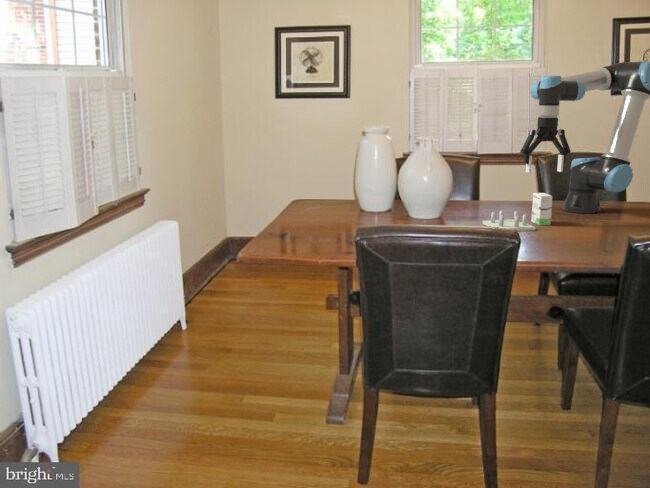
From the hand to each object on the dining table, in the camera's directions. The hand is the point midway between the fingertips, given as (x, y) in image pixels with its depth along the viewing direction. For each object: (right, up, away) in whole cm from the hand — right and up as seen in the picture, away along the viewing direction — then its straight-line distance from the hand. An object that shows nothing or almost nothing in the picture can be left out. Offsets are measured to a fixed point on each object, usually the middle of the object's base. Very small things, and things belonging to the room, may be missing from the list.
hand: (544, 172), depth 274 cm
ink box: (0, -20, +5) cm, 21 cm away
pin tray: (-15, -21, -3) cm, 26 cm away
